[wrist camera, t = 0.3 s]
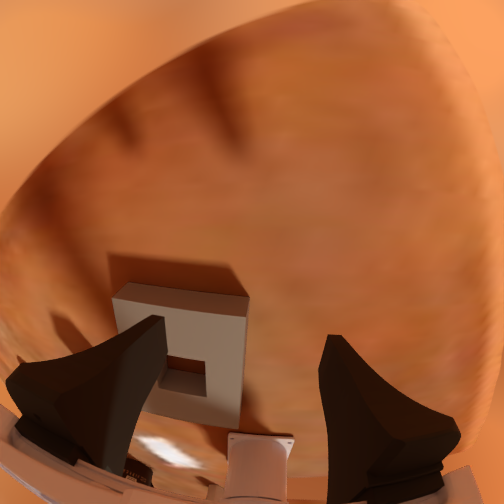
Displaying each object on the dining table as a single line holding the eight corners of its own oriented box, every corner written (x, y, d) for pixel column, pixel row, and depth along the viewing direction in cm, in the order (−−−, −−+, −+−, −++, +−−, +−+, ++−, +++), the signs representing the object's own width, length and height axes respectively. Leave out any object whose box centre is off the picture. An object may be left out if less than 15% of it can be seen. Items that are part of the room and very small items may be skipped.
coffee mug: (108, 456, 36) (91, 493, 27) (128, 452, 34) (110, 496, 25) (155, 484, 39) (143, 520, 29) (180, 482, 36) (168, 523, 27)
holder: (241, 408, 27) (238, 429, 24) (148, 391, 27) (139, 410, 24) (249, 297, 22) (246, 317, 19) (128, 281, 23) (111, 297, 20)
